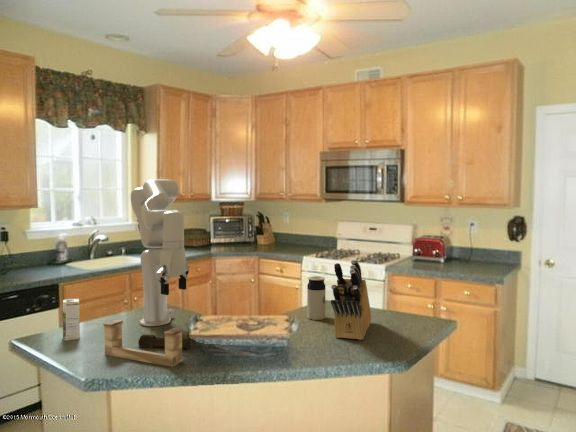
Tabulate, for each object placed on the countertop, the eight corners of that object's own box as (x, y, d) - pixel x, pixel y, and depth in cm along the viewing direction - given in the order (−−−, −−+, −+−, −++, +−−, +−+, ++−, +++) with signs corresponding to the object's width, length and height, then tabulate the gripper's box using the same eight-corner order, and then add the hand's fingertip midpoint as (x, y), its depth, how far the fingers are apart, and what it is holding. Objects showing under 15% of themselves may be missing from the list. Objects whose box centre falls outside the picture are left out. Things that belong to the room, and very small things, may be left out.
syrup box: (62, 337, 173) (61, 299, 172) (79, 334, 176) (78, 297, 175) (63, 341, 168) (62, 302, 167) (80, 339, 171) (79, 301, 170)
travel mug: (303, 318, 199) (303, 278, 198) (313, 314, 205) (313, 275, 204) (318, 321, 194) (319, 280, 193) (328, 317, 201) (328, 277, 200)
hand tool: (191, 347, 163) (191, 334, 162) (187, 351, 159) (187, 338, 158) (142, 344, 165) (142, 332, 165) (137, 348, 161) (136, 335, 161)
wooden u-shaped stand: (115, 349, 159) (115, 319, 158) (183, 361, 148) (182, 328, 148) (104, 354, 154) (103, 323, 153) (173, 367, 143) (172, 333, 143)
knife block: (328, 346, 163) (328, 261, 162) (345, 320, 197) (346, 249, 195) (359, 349, 160) (360, 262, 158) (371, 322, 193) (372, 250, 192)
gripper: (180, 242, 174) (180, 286, 175) (148, 247, 158) (149, 295, 159) (196, 243, 170) (196, 288, 171) (165, 248, 155) (166, 298, 156)
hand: (173, 291), depth 165 cm, fingers open, 9 cm apart
